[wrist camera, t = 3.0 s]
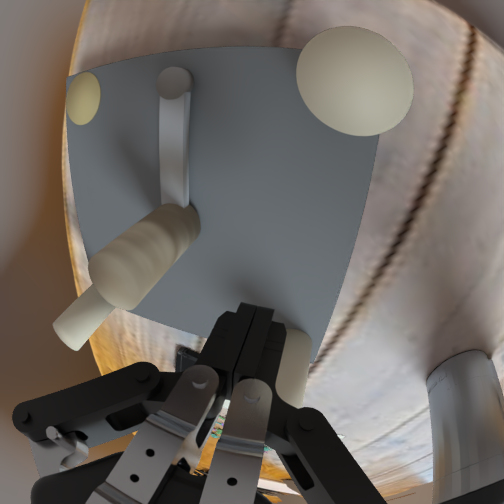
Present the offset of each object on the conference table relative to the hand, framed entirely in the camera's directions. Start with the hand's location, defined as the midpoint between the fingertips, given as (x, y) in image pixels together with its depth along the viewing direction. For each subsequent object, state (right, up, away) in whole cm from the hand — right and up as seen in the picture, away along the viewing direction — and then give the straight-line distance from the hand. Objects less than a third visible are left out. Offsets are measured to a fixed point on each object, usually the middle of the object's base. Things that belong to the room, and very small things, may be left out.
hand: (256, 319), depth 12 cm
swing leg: (-5, +9, +5) cm, 12 cm away
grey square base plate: (-5, +7, +11) cm, 14 cm away
